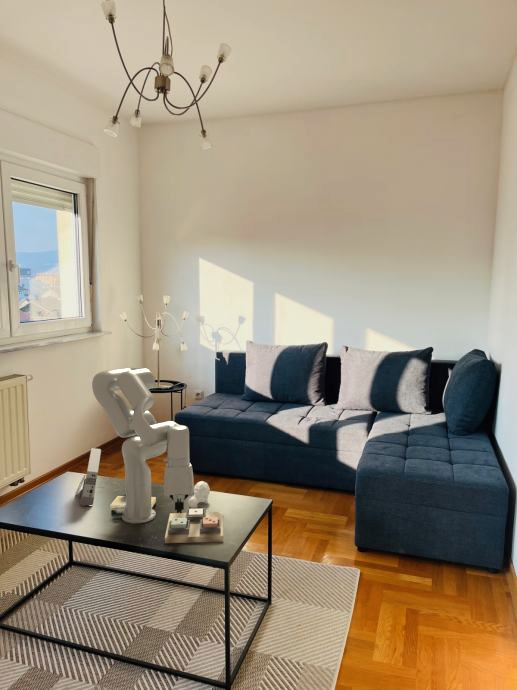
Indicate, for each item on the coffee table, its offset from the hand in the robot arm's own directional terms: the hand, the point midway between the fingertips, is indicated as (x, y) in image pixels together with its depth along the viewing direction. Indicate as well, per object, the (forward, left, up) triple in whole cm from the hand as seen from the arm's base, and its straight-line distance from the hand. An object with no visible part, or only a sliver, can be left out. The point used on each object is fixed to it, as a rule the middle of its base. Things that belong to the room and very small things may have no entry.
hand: (179, 511), depth 188 cm
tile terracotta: (+11, 0, -5) cm, 12 cm away
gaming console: (-41, +37, -9) cm, 55 cm away
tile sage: (0, 0, -5) cm, 6 cm away
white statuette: (+5, +27, -9) cm, 29 cm away
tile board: (+5, +5, -9) cm, 11 cm away
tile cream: (+5, +10, -7) cm, 13 cm away
